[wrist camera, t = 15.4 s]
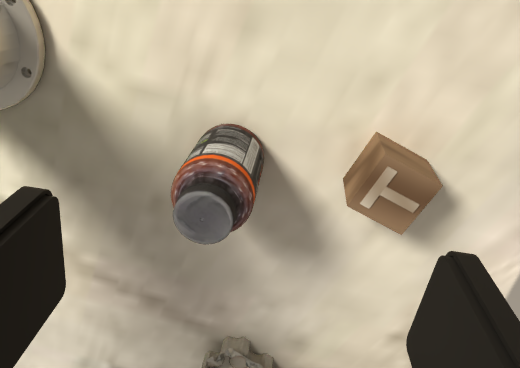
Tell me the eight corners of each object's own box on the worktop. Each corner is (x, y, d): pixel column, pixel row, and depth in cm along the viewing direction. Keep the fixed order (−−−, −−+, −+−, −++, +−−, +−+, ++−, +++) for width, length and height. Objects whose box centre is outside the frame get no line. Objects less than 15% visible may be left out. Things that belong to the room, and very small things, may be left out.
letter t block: (390, 205, 38) (400, 236, 34) (342, 179, 38) (346, 207, 33) (426, 159, 36) (443, 186, 32) (376, 131, 36) (385, 154, 31)
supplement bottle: (247, 195, 39) (224, 272, 29) (188, 165, 39) (143, 234, 29) (277, 141, 37) (263, 205, 27) (214, 108, 36) (176, 162, 26)
